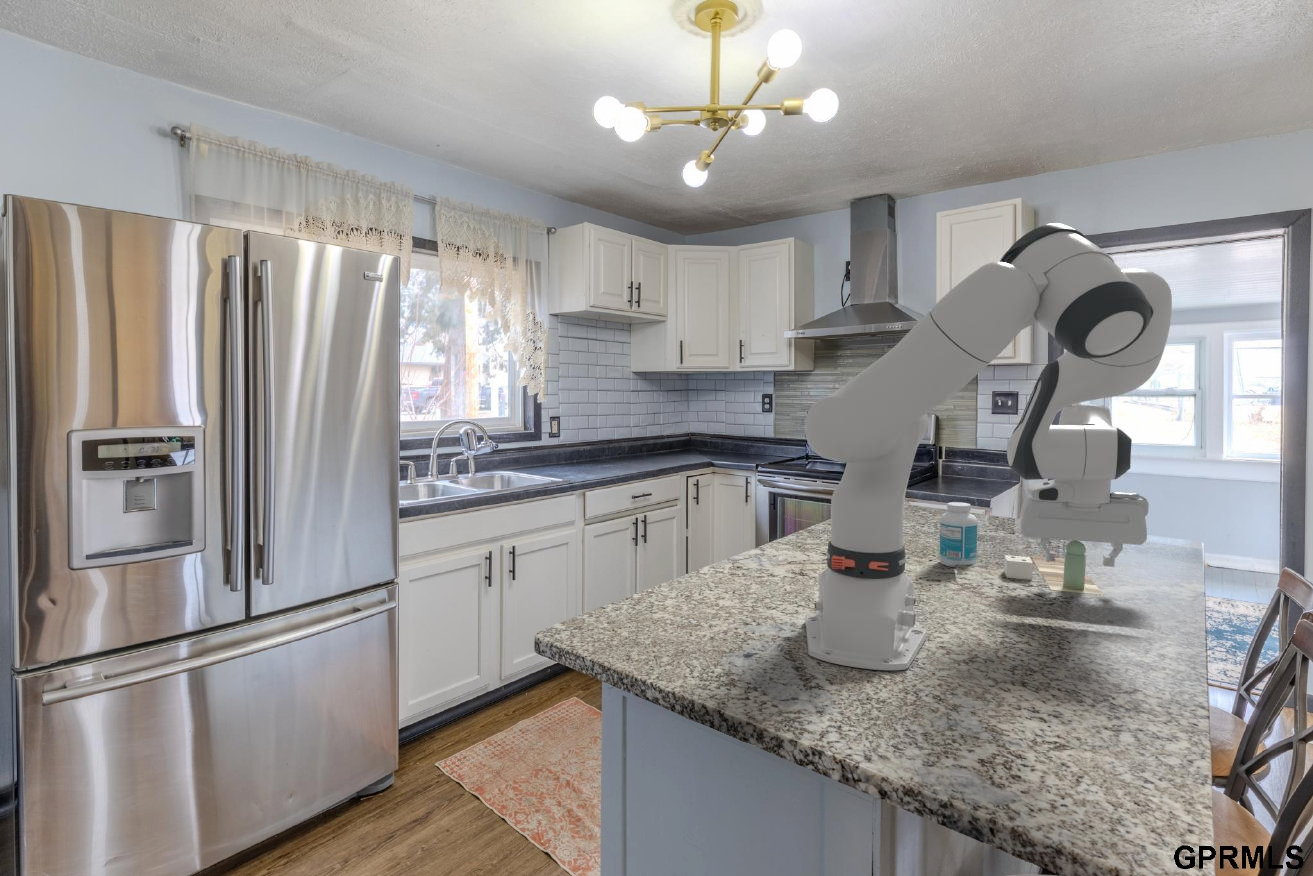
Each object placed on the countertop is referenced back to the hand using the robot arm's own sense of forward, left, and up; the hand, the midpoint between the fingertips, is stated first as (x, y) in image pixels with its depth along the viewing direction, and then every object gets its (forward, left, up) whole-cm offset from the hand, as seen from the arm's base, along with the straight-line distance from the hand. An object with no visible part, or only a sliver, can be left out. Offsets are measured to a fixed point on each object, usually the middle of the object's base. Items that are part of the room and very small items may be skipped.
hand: (1078, 563), depth 124 cm
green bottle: (0, +1, -5) cm, 5 cm away
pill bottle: (+14, +20, -6) cm, 25 cm away
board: (+10, +1, -6) cm, 12 cm away
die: (+6, +9, -6) cm, 12 cm away
